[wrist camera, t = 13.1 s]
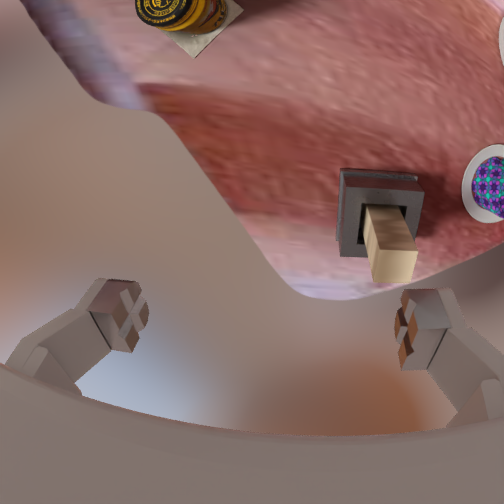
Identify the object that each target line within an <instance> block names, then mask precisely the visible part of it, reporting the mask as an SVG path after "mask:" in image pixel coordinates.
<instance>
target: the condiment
mask: <svg viewBox="0 0 504 504" xmlns="http://www.w3.org/2000/svg"><path fill="white" fill-rule="evenodd" d="M135 8H136V12H137V15H138V17H139V18H140V19H141V20H142V21H143V22H144V23H146V24H148V25H151V26H155V27H156V28H158V29H160V30H161V31H162V32H163V33H164V34H166V35H167V36H168V37H169V38H171V39H172V40H173V41H174V42H175V43H177V44H178V45H179V46H180V47H181V48H182V49H183V50H185V51H186V52H187V53H188V54H189V55H190V56H191V57H192V58H195V57H196V56H197V55H198V54H199V53H200V52H201V51H202V50H203V49H204V48H205V47H206V46H207V45H208V44H209V43H210V42H211V41H212V40H213V39H214V38H215V37H216V36H217V35H218V34H219V33H220V32H221V31H222V30H223V29H224V28H225V27H226V26H228V25H229V24H230V23H231V22H232V21H233V20H234V19H235V18H236V17H237V16H238V15H240V14H241V13H242V12H243V11H244V9H242V8H241V7H240V6H239V5H238V4H237V3H235V2H234V1H233V0H135ZM193 35H194V37H192V36H193ZM195 35H197V36H195Z"/></svg>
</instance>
